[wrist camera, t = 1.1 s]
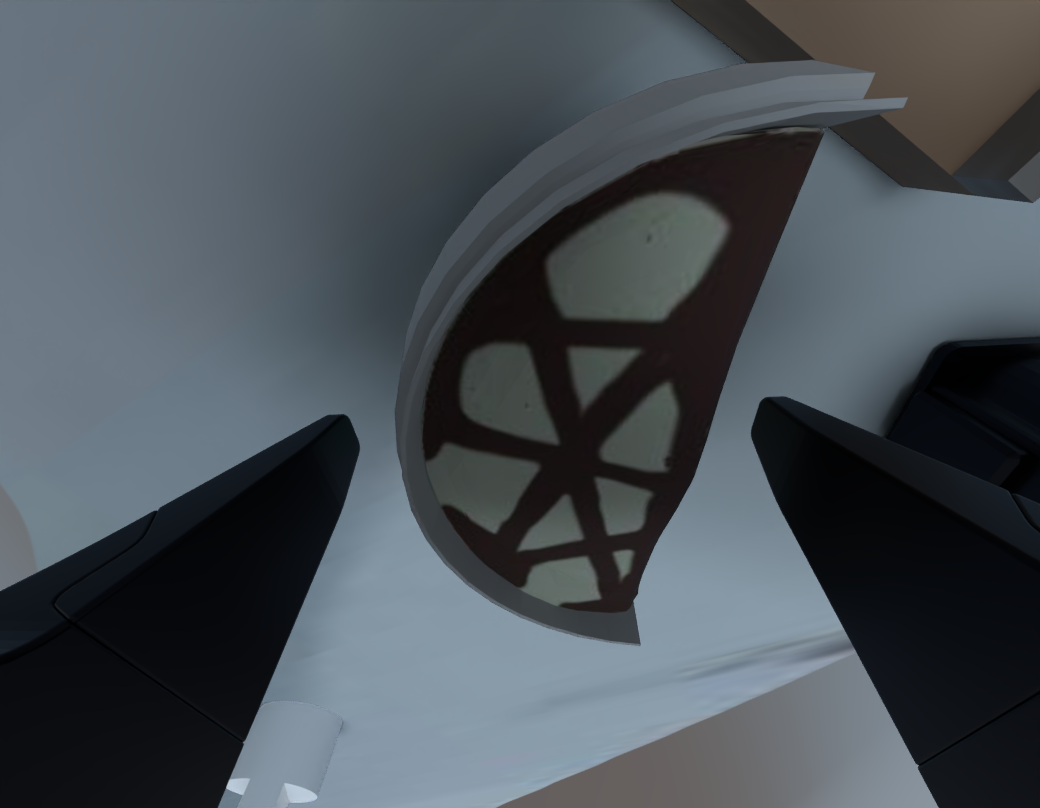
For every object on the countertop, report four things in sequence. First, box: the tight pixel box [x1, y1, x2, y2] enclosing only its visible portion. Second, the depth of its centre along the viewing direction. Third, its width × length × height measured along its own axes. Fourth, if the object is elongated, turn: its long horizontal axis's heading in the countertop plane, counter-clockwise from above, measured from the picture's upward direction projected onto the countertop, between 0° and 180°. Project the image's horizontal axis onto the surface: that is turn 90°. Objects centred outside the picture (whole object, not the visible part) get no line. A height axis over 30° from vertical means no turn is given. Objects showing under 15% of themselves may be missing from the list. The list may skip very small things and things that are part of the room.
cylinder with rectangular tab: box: [226, 701, 343, 808], centre depth 38 cm, size 9×9×12 cm
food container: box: [395, 60, 908, 646], centre depth 11 cm, size 12×6×10 cm, turn 177°
